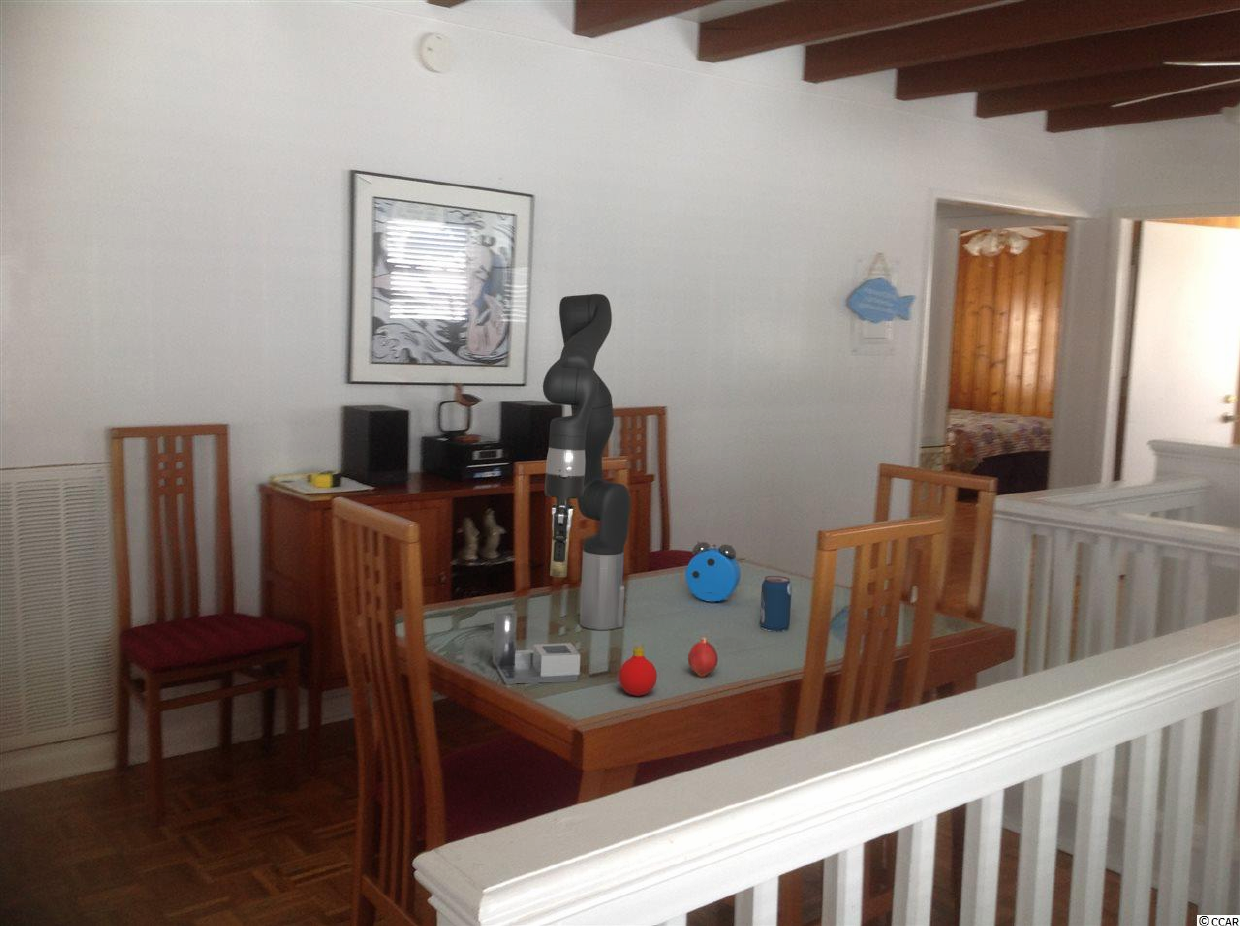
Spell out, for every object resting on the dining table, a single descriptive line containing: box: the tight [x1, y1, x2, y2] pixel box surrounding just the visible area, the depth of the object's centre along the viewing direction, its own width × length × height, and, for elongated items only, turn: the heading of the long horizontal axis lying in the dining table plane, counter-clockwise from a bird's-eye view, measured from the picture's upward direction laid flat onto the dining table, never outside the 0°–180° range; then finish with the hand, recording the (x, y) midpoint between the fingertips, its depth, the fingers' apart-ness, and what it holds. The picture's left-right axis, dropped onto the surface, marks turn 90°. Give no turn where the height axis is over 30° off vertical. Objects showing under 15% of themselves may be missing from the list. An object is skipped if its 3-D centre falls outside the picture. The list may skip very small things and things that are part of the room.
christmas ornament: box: [618, 642, 658, 697], centre depth 200 cm, size 7×7×10 cm
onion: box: [687, 637, 719, 678], centre depth 213 cm, size 6×6×8 cm
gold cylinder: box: [549, 524, 571, 578], centre depth 210 cm, size 3×3×10 cm
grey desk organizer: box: [492, 609, 581, 685], centre depth 210 cm, size 15×12×11 cm
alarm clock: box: [685, 541, 741, 602], centre depth 275 cm, size 13×6×15 cm, turn 71°
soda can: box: [759, 575, 793, 631], centre depth 251 cm, size 7×7×12 cm
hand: (559, 559), depth 210 cm, fingers closed on gold cylinder, 3 cm apart
